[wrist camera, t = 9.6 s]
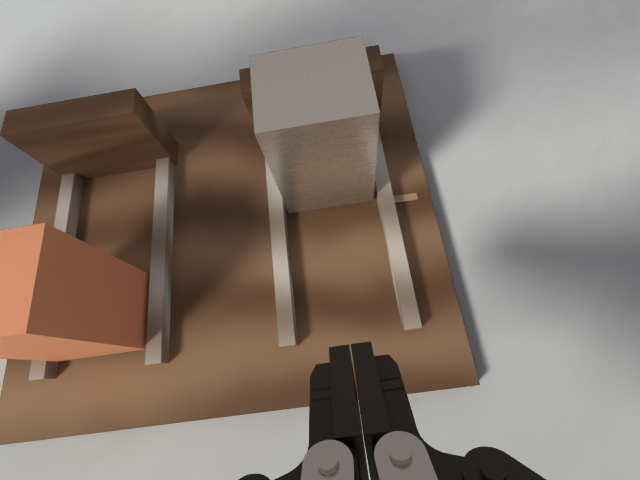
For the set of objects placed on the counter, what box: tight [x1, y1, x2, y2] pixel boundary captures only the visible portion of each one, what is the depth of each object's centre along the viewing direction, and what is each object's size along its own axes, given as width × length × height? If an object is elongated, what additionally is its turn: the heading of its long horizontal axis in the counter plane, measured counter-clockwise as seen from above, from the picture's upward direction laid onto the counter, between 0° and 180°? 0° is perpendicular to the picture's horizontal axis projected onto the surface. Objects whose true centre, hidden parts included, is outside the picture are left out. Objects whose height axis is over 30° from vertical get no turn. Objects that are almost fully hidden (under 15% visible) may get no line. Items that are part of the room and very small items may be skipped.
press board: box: [0, 45, 480, 445], centre depth 24 cm, size 26×30×7 cm
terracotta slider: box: [0, 223, 150, 362], centre depth 20 cm, size 5×6×9 cm
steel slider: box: [249, 36, 380, 213], centre depth 22 cm, size 5×6×9 cm
